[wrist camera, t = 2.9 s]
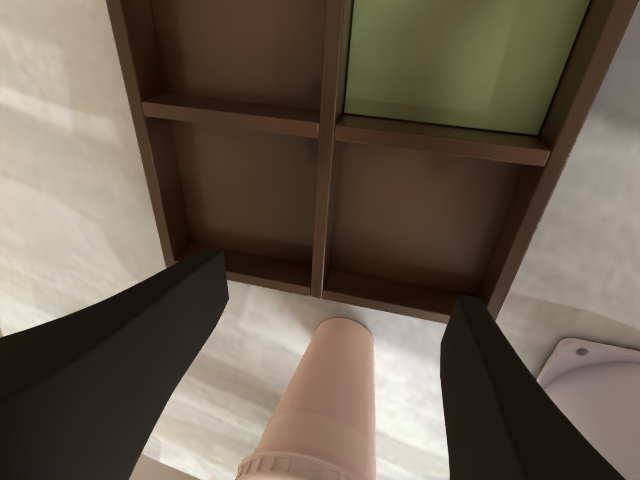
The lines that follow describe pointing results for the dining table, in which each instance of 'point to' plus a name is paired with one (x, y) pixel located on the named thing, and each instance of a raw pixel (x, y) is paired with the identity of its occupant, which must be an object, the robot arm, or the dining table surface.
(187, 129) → the tray
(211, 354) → the dining table surface
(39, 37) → the dining table surface
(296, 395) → the smoothie
